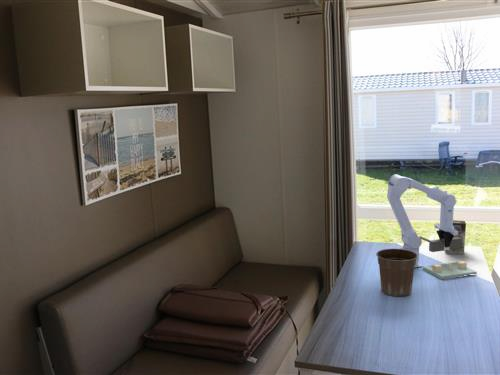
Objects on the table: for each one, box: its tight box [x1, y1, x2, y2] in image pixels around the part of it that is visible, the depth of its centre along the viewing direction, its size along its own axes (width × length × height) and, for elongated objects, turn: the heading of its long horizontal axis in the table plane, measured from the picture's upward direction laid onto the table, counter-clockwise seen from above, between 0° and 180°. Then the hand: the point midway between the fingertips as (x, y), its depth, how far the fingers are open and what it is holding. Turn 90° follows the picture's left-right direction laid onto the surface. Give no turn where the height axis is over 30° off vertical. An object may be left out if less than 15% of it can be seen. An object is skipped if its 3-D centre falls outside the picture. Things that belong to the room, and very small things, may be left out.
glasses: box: [418, 235, 461, 253], centre depth 250 cm, size 16×10×5 cm, turn 107°
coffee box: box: [444, 219, 467, 255], centre depth 263 cm, size 9×6×16 cm
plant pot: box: [375, 248, 418, 297], centre depth 214 cm, size 16×16×16 cm
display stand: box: [422, 260, 478, 281], centre depth 235 cm, size 18×14×4 cm
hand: (445, 246), depth 246 cm, fingers closed on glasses, 2 cm apart
